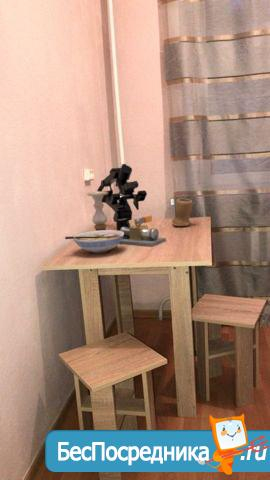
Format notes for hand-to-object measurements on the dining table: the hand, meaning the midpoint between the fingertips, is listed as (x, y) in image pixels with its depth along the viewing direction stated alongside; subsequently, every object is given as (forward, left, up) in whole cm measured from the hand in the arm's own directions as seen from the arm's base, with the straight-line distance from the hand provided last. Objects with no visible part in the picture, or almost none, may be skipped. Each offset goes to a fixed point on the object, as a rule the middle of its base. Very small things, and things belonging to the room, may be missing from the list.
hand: (134, 210), depth 212 cm
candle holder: (-15, -9, -14) cm, 22 cm away
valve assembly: (+6, -12, -14) cm, 19 cm away
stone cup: (+17, +31, -14) cm, 38 cm away
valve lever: (+7, -8, -5) cm, 12 cm away
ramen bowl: (-6, -31, -14) cm, 34 cm away
